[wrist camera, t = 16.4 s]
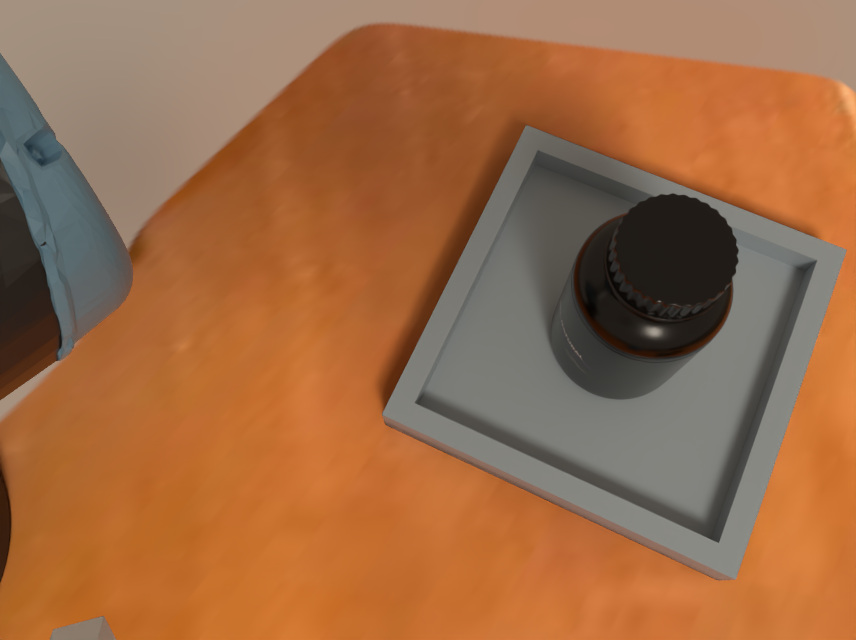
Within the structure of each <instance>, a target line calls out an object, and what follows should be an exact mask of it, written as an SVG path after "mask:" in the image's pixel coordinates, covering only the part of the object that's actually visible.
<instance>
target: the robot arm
mask: <svg viewBox="0 0 856 640" xmlns="http://www.w3.org/2000/svg"><path fill="white" fill-rule="evenodd" d="M132 280H133V267H132V262H131V258H130V255H129V253H128V251H127V248H126V246H125V244H124V242H123V240H122V238H121V237H120V235H119V233H118V231H117V229H116V228H115V226H114V224H113V222H112V221H111V219H110V217H109V215H108V214H107V212H106V210H105V209H104V207H103V206H102V204H101V202H100V201H99V199H98V198H97V196H96V194H95V193H94V191H93V189H92V188H91V186H90V185H89V183H88V182H87V180H86V179H85V177H84V175H83V174H82V172H81V171H80V169H79V168H78V167H77V165H76V164H75V162H74V161H73V159H72V157H71V156H70V155H69V153H68V152H67V151H66V150H65V148H64V147H63V146H62V145H61V144H60V143H59V142H58V141H57V140H56V137H55V133H54V131H53V130H52V129H51V127H50V126H49V124H48V123H47V122H46V120H45V119H44V117H43V116H42V114H41V112H40V110H39V108H38V107H37V105H36V103H35V102H34V101H33V99H32V98H31V96H30V94H29V93H28V92H27V90H26V89H25V87H24V86H23V84H22V83H21V81H20V80H19V79H18V77H17V76H16V74H15V73H14V72H13V70H12V69H11V67H10V66H9V65H8V63H7V62H6V60H5V59H4V58H3V56H2V55H1V54H0V400H1V399H3V398H4V397H6V396H7V395H8V394H10V393H11V392H13V391H14V390H15V389H17V388H18V387H20V386H21V385H23V384H24V383H25V382H27V381H28V380H30V379H31V378H33V377H34V376H35V375H37V374H38V373H40V372H41V371H43V370H44V369H45V368H47V367H48V366H50V365H51V364H52V363H54V362H55V361H60V360H62V359H63V358H65V357H66V356H68V355H69V354H70V352H71V351H72V349H73V347H74V344H75V343H76V342H77V341H78V340H79V339H81V338H82V337H83V336H84V335H85V334H87V333H88V332H89V331H90V330H92V329H93V328H94V327H95V326H97V325H98V324H99V323H100V322H101V321H103V320H104V319H105V318H106V317H108V316H109V315H110V314H111V313H112V312H114V311H115V310H116V309H117V308H118V307H119V306H120V305H121V304H122V303H123V302H124V301H125V299H126V298H127V296H128V294H129V292H130V289H131V286H132ZM9 534H10V516H9V506H8V501H7V495H6V491H5V487H4V484H3V481H2V478H1V475H0V581H1V578H2V575H3V571H4V567H5V563H6V558H7V553H8V545H9ZM50 640H116V638H115V637H114V635H113V633H112V631H111V629H110V627H109V625H108V623H107V621H106V619H105V618H104V616H102V617H98V618H94V619H90V620H87V621H83V622H79V623H76V624H72V625H68V626H65V627H61V628H57V629H54V630H53V632H52V635H51V638H50Z"/></svg>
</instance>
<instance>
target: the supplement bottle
mask: <svg viewBox="0 0 856 640" xmlns="http://www.w3.org/2000/svg"><path fill="white" fill-rule="evenodd" d="M736 242H737V239H736V238H735V236H734V235H733V230H732V228H731V227H730V226H729V225H728V224H727V221H726V218H724V217H722V216H721V215H720V214H719V212H718V210H716V209H714V208H711V207H710V205H709V204H708V203H705V202H701V201H700V200H699V199H697V198H690V197H688V196H687V195H677V194H674V193H672V194H668V195H665V194H660V195H658V196H656V197H649V198H648V199H647V200H645V201H640V202H639V203H638V204H637V205H636V206H635V207H632V208H630V209H629V211H628V212H627V213H624V214H621V215H618V216H616V217H613V218H612V219H610V220H608V221H606V222H605V223H603V224H602V225H600V226H599V227H598V228H597V229H595V230H594V231H593V232H592V233H591V234H590V236H589V237H588V238H587V239H586V241H585V242H584V244H583V245H582V247H581V249H580V250H579V252H578V254H577V256H576V259H575V261H574V263H573V266H572V268H571V271H570V273H569V276H568V278H567V281H566V283H565V286H564V288H563V291H562V293H561V295H560V298H559V300H558V303H557V306H556V308H555V311H554V314H553V318H552V323H551V344H552V348H553V352H554V355H555V357H556V360H557V362H558V364H559V365H560V367H561V368H562V370H563V371H564V372H565V374H566V375H567V376H568V377H569V378H570V379H571V380H572V381H573V382H574V383H575V384H577V385H578V386H579V387H581V388H582V389H584V390H586V391H587V392H589V393H592V394H594V395H597V396H599V397H603V398H608V399H616V400H626V399H633V398H637V397H641V396H644V395H646V394H648V393H650V392H652V391H654V390H656V389H657V388H659V387H660V386H661V385H663V384H664V383H665V382H666V381H668V380H669V379H670V378H671V377H672V376H673V375H674V374H675V373H677V372H678V371H679V370H680V369H681V368H682V367H683V366H684V365H685V364H686V363H688V362H689V361H690V360H691V359H692V358H693V357H694V356H695V355H696V354H698V353H699V352H700V351H701V350H702V349H703V348H704V347H705V346H706V345H708V344H709V343H710V342H711V341H712V340H713V339H714V337H715V336H716V335H717V334H718V333H719V331H720V330H721V329H722V327H723V326H724V324H725V322H726V320H727V318H728V316H729V313H730V310H731V306H732V301H733V293H734V288H733V278H732V277H733V276H734V275H735V274H736V266H737V264H738V262H739V260H738V257H737V255H738V252H739V249H738V247H737V246H736Z"/></svg>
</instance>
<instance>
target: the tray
mask: <svg viewBox="0 0 856 640" xmlns="http://www.w3.org/2000/svg"><path fill="white" fill-rule="evenodd" d="M672 193H674V194H677V195H687V196H688V197H690V198H697V199H699V200H700V201H701V202H705V203H708V204H709V205H710V207H711V208H714V209H716V210H718V212H719V214H720V215H721V216H722V217H724V218H726V221H727V224H728V225H729V226H730V227H731V228H732V230H733V235H734V236H735V238H736V239H737V242H736V246H737V247H738V249H739V252H738V255H737V257H738V260H739V262H738V264H737V266H736V274H735V275H734V276H733V277H732V278H733V288H734V293H733V301H732V306H731V310H730V313H729V316H728V318H727V320H726V322H725V324H724V326H723V327H722V329H721V330H720V331H719V333H718V334H717V335H716V336H715V337H714V339H713V340H712V341H711V342H710V343H709V344H708V345H706V346H705V347H704V348H703V349H702V350H701V351H700V352H699V353H698V354H696V355H695V356H694V357H693V358H692V359H691V360H690V361H689V362H688V363H686V364H685V365H684V366H683V367H682V368H681V369H680V370H679V371H678V372H677V373H675V374H674V375H673V376H672V377H671V378H670V379H669V380H668V381H666V382H665V383H664V384H663V385H661V386H660V387H659V388H657V389H656V390H654V391H652V392H650V393H648V394H646V395H644V396H641V397H637V398H633V399H626V400H616V399H608V398H603V397H599V396H597V395H594V394H592V393H589V392H587V391H586V390H584V389H582V388H581V387H579V386H578V385H577V384H575V383H574V382H573V381H572V380H571V379H570V378H569V377H568V376H567V375H566V374H565V372H564V371H563V370H562V368H561V367H560V365H559V364H558V362H557V360H556V357H555V355H554V352H553V348H552V344H551V323H552V318H553V314H554V311H555V308H556V306H557V303H558V300H559V298H560V295H561V293H562V291H563V288H564V286H565V283H566V281H567V278H568V276H569V273H570V271H571V268H572V266H573V263H574V261H575V259H576V256H577V254H578V252H579V250H580V249H581V247H582V245H583V244H584V242H585V241H586V239H587V238H588V237H589V236H590V234H591V233H592V232H593V231H594V230H595V229H597V228H598V227H599V226H600V225H602V224H603V223H605V222H606V221H608V220H610V219H612V218H613V217H616V216H618V215H621V214H624V213H627V212H628V211H629V209H630V208H632V207H635V206H636V205H637V204H638V203H639V202H640V201H645V200H647V199H648V198H649V197H656V196H658V195H660V194H665V195H668V194H672ZM845 253H846V249H843V248H841V247H838V246H836V245H833V244H831V243H828V242H825V241H823V240H820V239H818V238H815V237H813V236H810V235H808V234H805V233H802V232H800V231H797V230H795V229H792V228H790V227H787V226H784V225H782V224H779V223H777V222H774V221H772V220H769V219H766V218H764V217H761V216H759V215H756V214H754V213H751V212H748V211H746V210H743V209H741V208H738V207H736V206H733V205H731V204H728V203H725V202H723V201H720V200H718V199H715V198H713V197H710V196H707V195H705V194H702V193H700V192H697V191H695V190H692V189H689V188H687V187H684V186H682V185H679V184H677V183H674V182H671V181H669V180H666V179H664V178H661V177H659V176H656V175H654V174H651V173H648V172H646V171H643V170H641V169H638V168H636V167H633V166H630V165H628V164H625V163H623V162H620V161H618V160H615V159H612V158H610V157H607V156H605V155H602V154H600V153H597V152H594V151H592V150H589V149H587V148H584V147H582V146H579V145H577V144H574V143H571V142H569V141H566V140H564V139H561V138H559V137H556V136H553V135H551V134H548V133H546V132H543V131H541V130H538V129H535V128H533V127H530V126H528V125H526V126H525V128H524V131H523V133H522V135H521V137H520V139H519V141H518V143H517V145H516V147H515V149H514V151H513V153H512V155H511V157H510V159H509V161H508V163H507V165H506V167H505V169H504V171H503V173H502V175H501V177H500V179H499V181H498V183H497V185H496V187H495V189H494V191H493V193H492V195H491V197H490V199H489V201H488V203H487V205H486V207H485V209H484V211H483V213H482V215H481V217H480V219H479V221H478V223H477V225H476V227H475V229H474V231H473V233H472V235H471V237H470V239H469V241H468V243H467V245H466V247H465V249H464V251H463V253H462V255H461V257H460V259H459V261H458V263H457V265H456V267H455V269H454V271H453V273H452V275H451V277H450V279H449V281H448V283H447V285H446V287H445V289H444V291H443V293H442V295H441V297H440V299H439V301H438V303H437V305H436V307H435V309H434V311H433V313H432V315H431V317H430V319H429V321H428V323H427V325H426V327H425V329H424V331H423V333H422V335H421V337H420V339H419V341H418V343H417V345H416V347H415V349H414V351H413V353H412V355H411V357H410V359H409V361H408V363H407V365H406V367H405V369H404V371H403V373H402V375H401V377H400V379H399V381H398V383H397V385H396V387H395V389H394V391H393V393H392V395H391V397H390V399H389V401H388V403H387V405H386V407H385V409H384V411H383V413H382V416H383V419H384V422H385V424H386V425H387V426H389V427H391V428H394V429H396V430H398V431H400V432H402V433H404V434H406V435H409V436H411V437H413V438H415V439H417V440H419V441H421V442H424V443H426V444H428V445H430V446H432V447H434V448H436V449H438V450H441V451H443V452H445V453H447V454H449V455H451V456H453V457H456V458H458V459H460V460H462V461H464V462H466V463H468V464H470V465H473V466H475V467H477V468H479V469H481V470H483V471H485V472H488V473H490V474H492V475H494V476H496V477H498V478H500V479H503V480H505V481H507V482H509V483H511V484H513V485H515V486H517V487H520V488H522V489H524V490H526V491H528V492H530V493H532V494H535V495H537V496H539V497H541V498H543V499H545V500H547V501H550V502H552V503H554V504H556V505H558V506H560V507H562V508H564V509H567V510H569V511H571V512H573V513H575V514H577V515H579V516H582V517H584V518H586V519H588V520H590V521H592V522H594V523H596V524H599V525H601V526H603V527H605V528H607V529H609V530H611V531H614V532H616V533H618V534H620V535H622V536H624V537H626V538H629V539H631V540H633V541H635V542H637V543H639V544H641V545H643V546H646V547H648V548H650V549H652V550H654V551H656V552H658V553H661V554H663V555H665V556H667V557H669V558H671V559H673V560H676V561H678V562H680V563H682V564H684V565H686V566H688V567H690V568H693V569H695V570H697V571H699V572H701V573H703V574H705V575H708V576H710V577H712V578H714V579H716V580H736V577H737V574H738V571H739V568H740V565H741V562H742V559H743V556H744V553H745V550H746V547H747V544H748V541H749V538H750V535H751V533H752V530H753V527H754V524H755V521H756V518H757V515H758V512H759V509H760V506H761V503H762V500H763V497H764V494H765V491H766V488H767V485H768V482H769V479H770V476H771V473H772V470H773V467H774V464H775V461H776V458H777V455H778V452H779V449H780V446H781V443H782V440H783V438H784V435H785V432H786V429H787V426H788V423H789V420H790V417H791V414H792V411H793V408H794V405H795V402H796V399H797V396H798V393H799V390H800V387H801V384H802V381H803V378H804V375H805V372H806V369H807V366H808V363H809V360H810V357H811V354H812V351H813V348H814V345H815V343H816V340H817V337H818V334H819V331H820V328H821V325H822V322H823V319H824V316H825V313H826V310H827V307H828V304H829V301H830V298H831V295H832V292H833V289H834V286H835V283H836V280H837V277H838V274H839V271H840V268H841V265H842V262H843V259H844V256H845Z"/></svg>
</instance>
